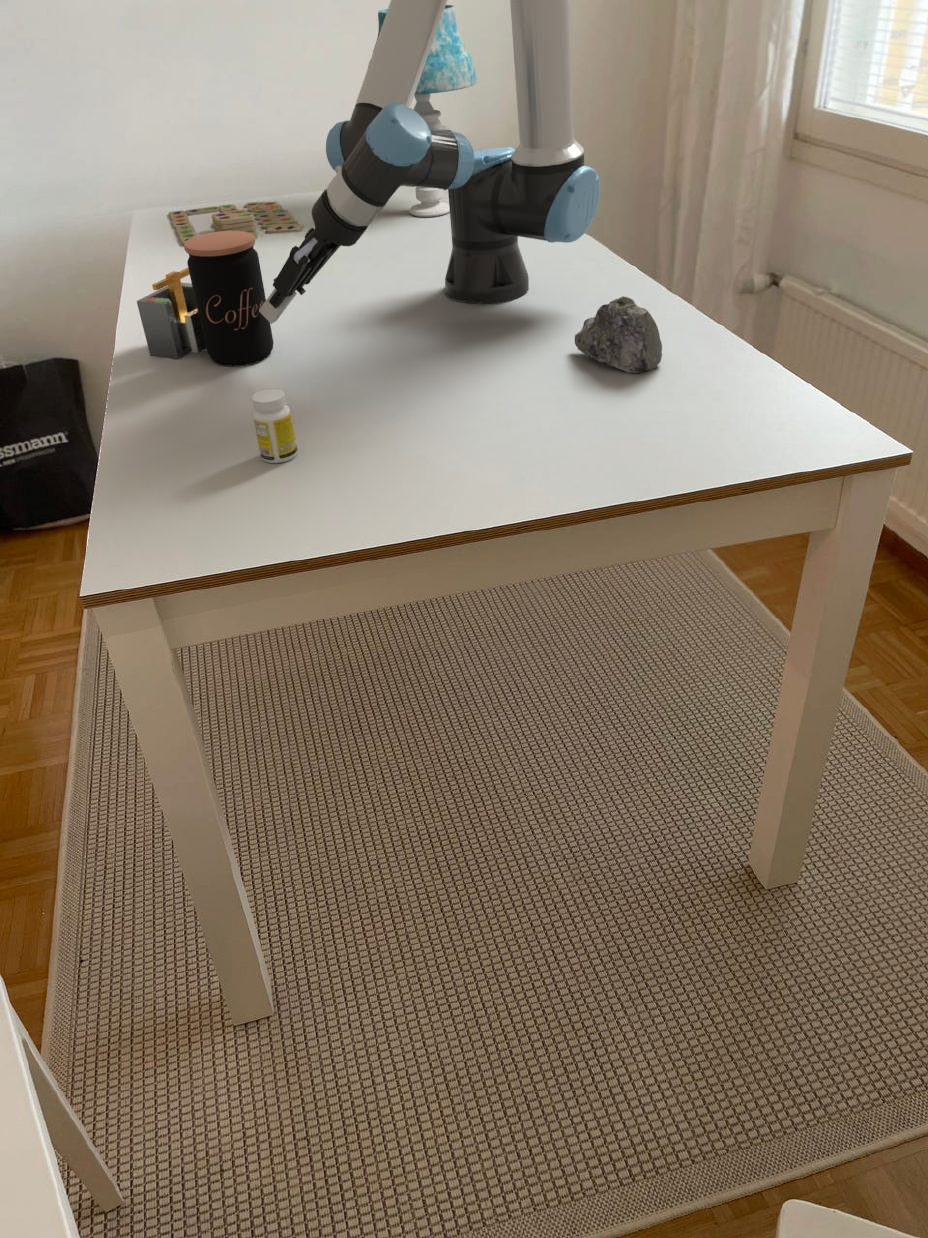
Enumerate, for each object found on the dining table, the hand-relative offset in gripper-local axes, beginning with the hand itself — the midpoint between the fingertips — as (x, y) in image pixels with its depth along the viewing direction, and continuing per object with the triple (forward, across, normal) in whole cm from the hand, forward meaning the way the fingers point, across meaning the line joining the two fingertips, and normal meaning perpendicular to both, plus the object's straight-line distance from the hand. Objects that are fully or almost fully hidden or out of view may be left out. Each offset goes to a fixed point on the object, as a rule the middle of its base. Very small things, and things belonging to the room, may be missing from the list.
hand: (267, 315), depth 152 cm
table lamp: (+16, -89, -6) cm, 91 cm away
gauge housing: (+18, 0, -8) cm, 20 cm away
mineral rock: (-31, -14, +42) cm, 54 cm away
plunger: (+15, 0, -6) cm, 16 cm away
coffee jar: (+10, 0, 0) cm, 10 cm away
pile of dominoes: (+46, -72, -35) cm, 93 cm away
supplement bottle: (-8, +29, +19) cm, 36 cm away
